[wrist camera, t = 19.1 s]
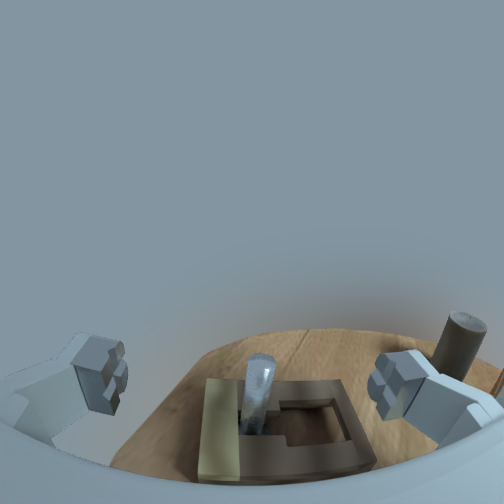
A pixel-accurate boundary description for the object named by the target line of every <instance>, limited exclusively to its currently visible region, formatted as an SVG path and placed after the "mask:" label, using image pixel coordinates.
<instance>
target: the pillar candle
mask: <svg viewBox="0 0 504 504" xmlns="http://www.w3.org/2000/svg"><path fill="white" fill-rule="evenodd" d="M486 332H487V325H486V324H485V323H484V322H483V321H482V320H481V319H479V318H478V317H476V316H473V315H471V314H468V313H465V312H459V311H456V312H455V311H454V312H451V313H450V315H449V318H448V320H447V323H446V326H445V328H444V330H443V333H442V336H441V338H440V340H439V343H438V345H437V347H436V349H435V352H434V354H433V356H432V358H431V360H430V362H429V363H430V364H431V365H432V366H433V367H434V368H435V369H436V370H437V372H438V373H439V374H445V375H447V376H449V377H451V378H453V379H456V380H458V381H460V382H462V381H463V379H464V378H465V376H466V374H467V372H468V370H469V368H470V366H471V364H472V362H473V360H474V358H475V356H476V354H477V352H478V350H479V347H480V345H481V343H482V341H483V338H484V336H485V334H486Z"/></svg>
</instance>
